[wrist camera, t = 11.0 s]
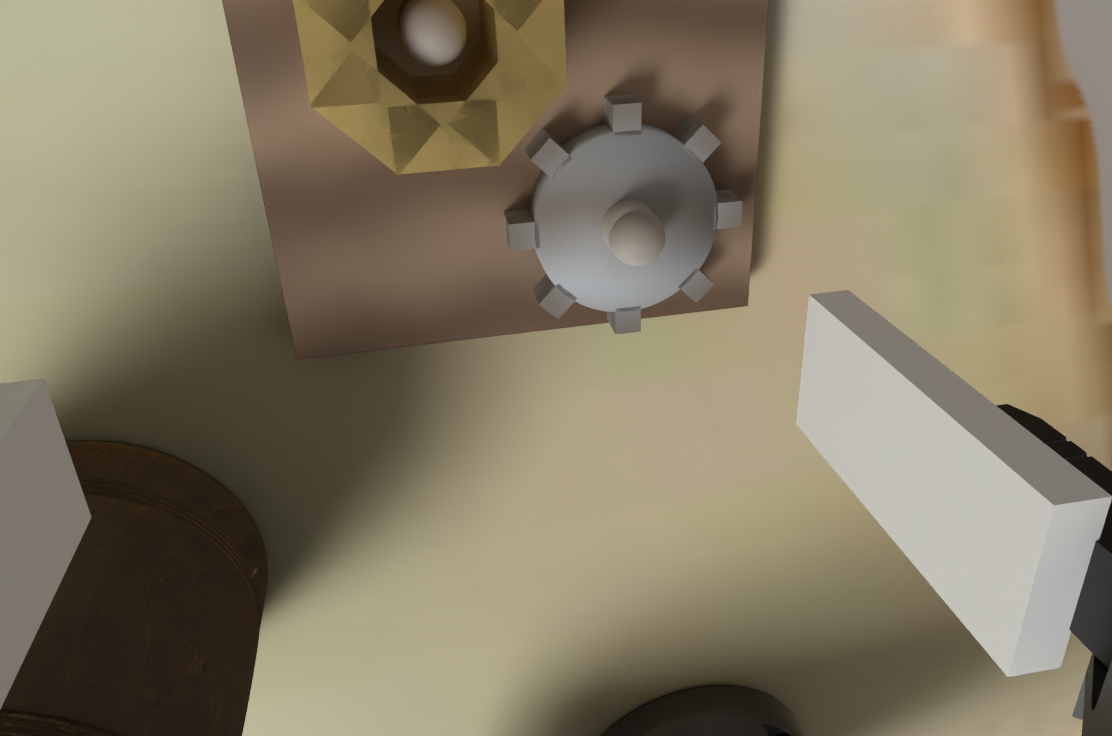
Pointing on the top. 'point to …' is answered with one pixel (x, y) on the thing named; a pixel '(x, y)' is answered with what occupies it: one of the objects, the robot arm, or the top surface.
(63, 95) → the top surface
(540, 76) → the faceted octagonal washer
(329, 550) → the top surface
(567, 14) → the gear board
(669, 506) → the top surface
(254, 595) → the wooden container
